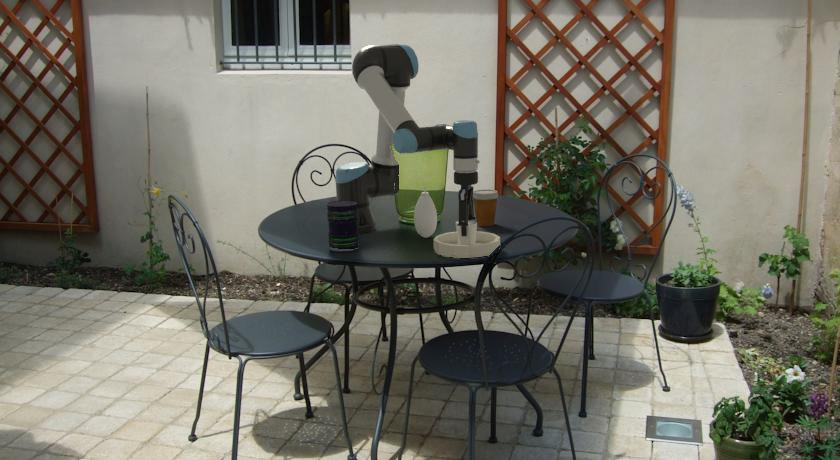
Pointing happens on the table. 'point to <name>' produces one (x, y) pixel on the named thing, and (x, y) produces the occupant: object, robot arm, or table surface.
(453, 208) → the table surface
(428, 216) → the sauce bottle
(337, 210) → the storage jar
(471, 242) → the shot glass
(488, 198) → the disposable coffee cup
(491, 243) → the cream bowl
